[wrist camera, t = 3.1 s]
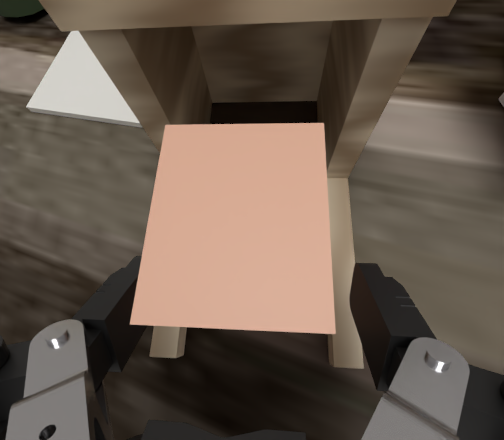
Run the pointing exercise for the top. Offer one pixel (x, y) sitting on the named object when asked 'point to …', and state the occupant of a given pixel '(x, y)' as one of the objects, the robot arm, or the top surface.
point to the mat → (80, 88)
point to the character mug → (19, 7)
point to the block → (239, 231)
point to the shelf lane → (261, 86)
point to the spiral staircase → (502, 99)
